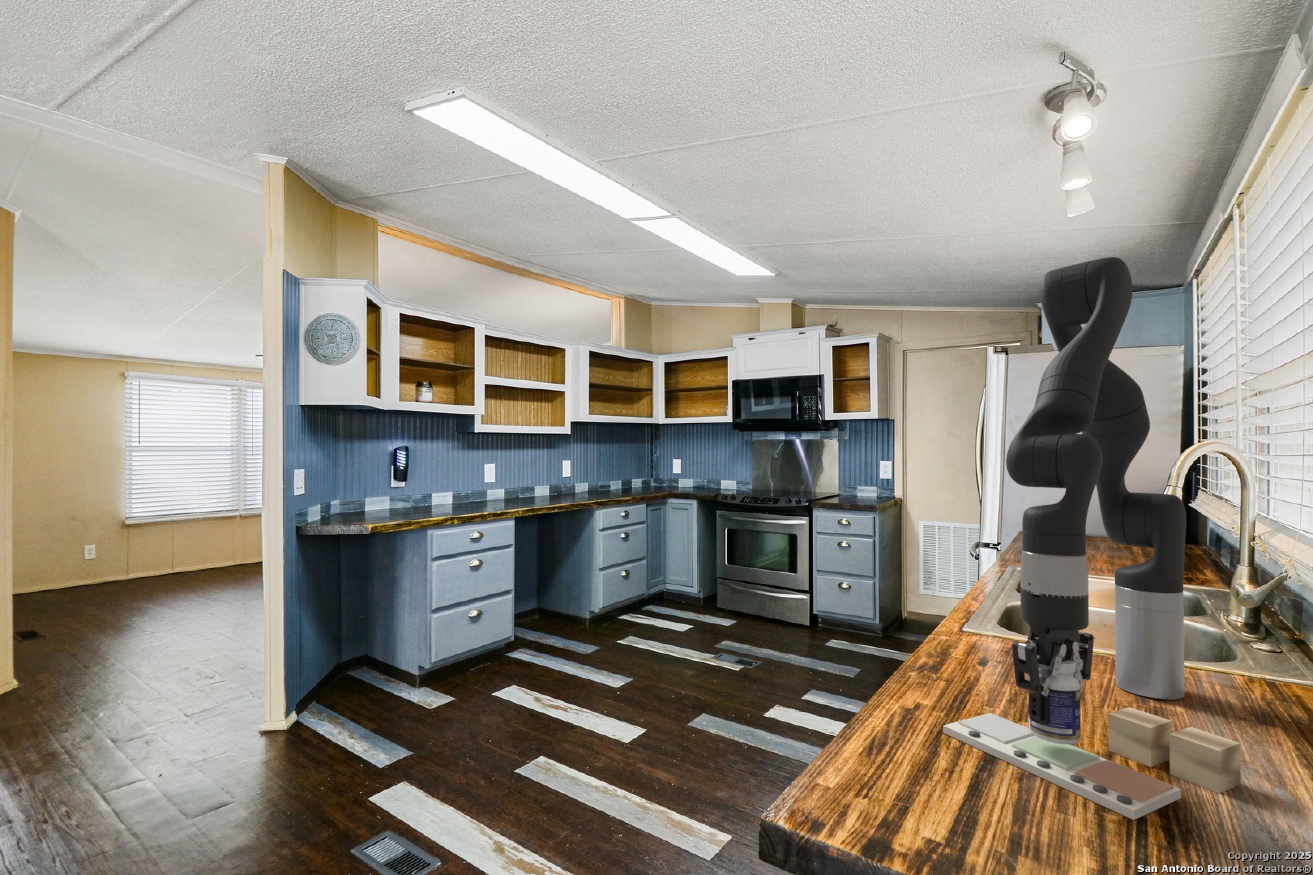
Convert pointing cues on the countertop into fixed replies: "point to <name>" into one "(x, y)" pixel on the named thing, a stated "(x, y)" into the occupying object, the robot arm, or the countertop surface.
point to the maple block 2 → (1205, 759)
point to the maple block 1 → (1139, 736)
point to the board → (1066, 766)
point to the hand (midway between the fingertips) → (1054, 717)
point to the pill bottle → (1061, 708)
